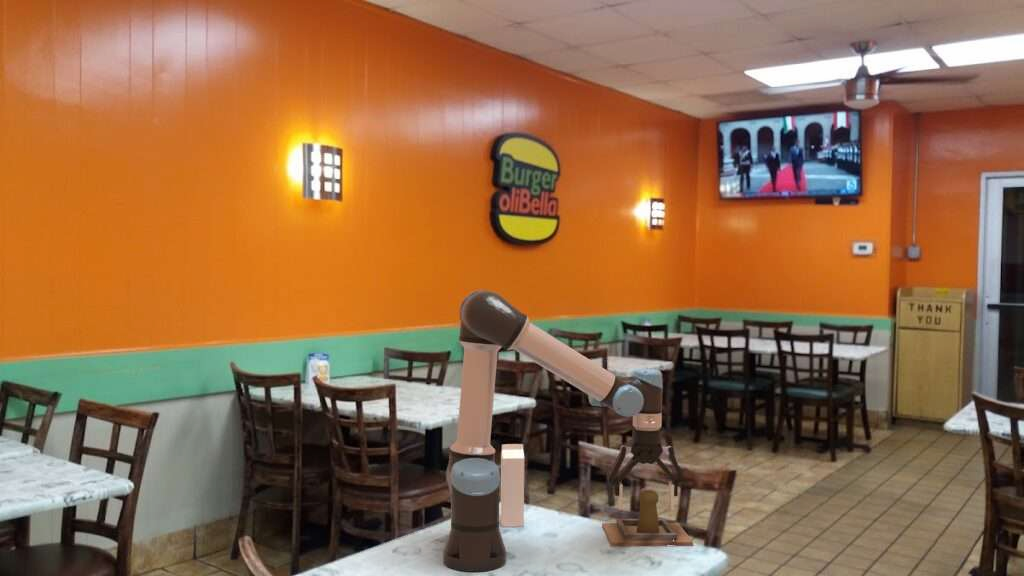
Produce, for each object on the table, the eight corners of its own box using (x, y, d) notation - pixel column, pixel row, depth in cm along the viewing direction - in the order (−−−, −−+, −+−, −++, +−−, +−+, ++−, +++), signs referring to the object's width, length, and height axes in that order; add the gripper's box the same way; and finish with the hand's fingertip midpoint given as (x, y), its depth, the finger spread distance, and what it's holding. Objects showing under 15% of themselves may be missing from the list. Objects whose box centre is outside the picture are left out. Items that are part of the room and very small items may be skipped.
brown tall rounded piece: (653, 537, 212) (653, 495, 212) (632, 532, 216) (632, 491, 216) (663, 531, 217) (664, 490, 217) (642, 527, 221) (643, 486, 220)
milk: (523, 527, 224) (524, 446, 223) (501, 527, 223) (502, 446, 223) (521, 520, 230) (522, 441, 229) (500, 520, 229) (501, 441, 229)
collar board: (611, 546, 208) (611, 536, 208) (601, 526, 224) (602, 517, 224) (693, 545, 209) (693, 536, 209) (678, 526, 225) (678, 517, 225)
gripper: (602, 430, 212) (600, 512, 212) (697, 431, 213) (696, 512, 213) (597, 424, 219) (596, 503, 220) (690, 425, 220) (688, 504, 221)
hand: (645, 508), depth 216 cm, fingers open, 13 cm apart
